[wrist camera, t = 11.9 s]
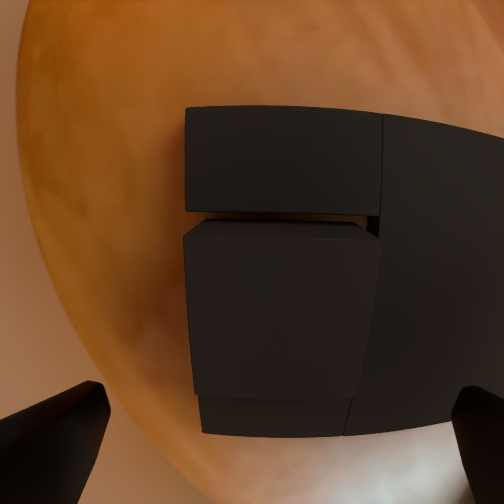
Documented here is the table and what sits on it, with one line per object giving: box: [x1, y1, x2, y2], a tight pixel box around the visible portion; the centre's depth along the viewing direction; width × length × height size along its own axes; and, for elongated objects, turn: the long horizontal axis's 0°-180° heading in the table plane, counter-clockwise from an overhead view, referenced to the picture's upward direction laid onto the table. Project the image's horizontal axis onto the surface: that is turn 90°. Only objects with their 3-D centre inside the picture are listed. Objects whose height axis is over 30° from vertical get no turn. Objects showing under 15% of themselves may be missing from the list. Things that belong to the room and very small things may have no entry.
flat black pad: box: [185, 105, 504, 438], centre depth 13 cm, size 20×15×2 cm
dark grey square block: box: [183, 219, 381, 400], centre depth 12 cm, size 6×6×4 cm
